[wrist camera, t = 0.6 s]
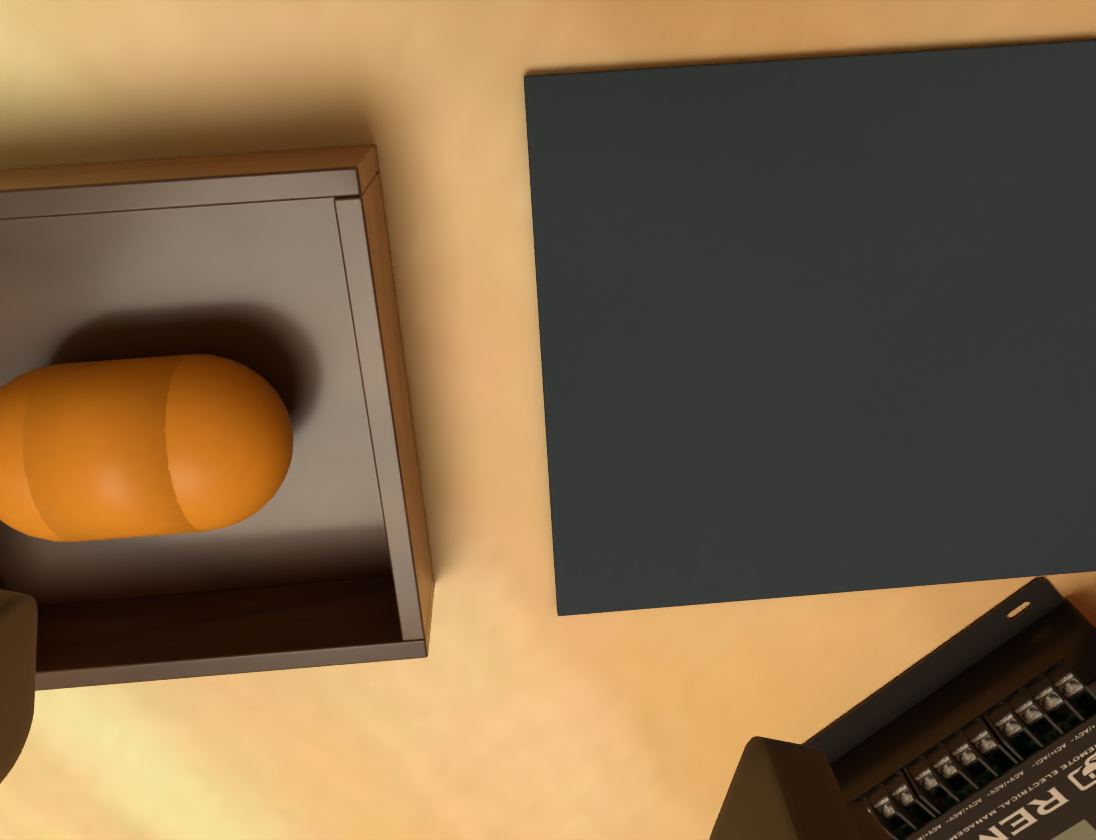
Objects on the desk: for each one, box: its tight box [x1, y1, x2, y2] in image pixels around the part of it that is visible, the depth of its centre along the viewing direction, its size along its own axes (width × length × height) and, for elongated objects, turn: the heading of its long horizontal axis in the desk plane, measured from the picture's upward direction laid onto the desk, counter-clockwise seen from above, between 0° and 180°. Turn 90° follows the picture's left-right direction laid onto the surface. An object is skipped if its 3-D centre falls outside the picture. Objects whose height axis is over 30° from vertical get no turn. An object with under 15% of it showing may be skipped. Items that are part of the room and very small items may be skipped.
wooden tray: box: [0, 144, 435, 691], centre depth 29 cm, size 17×17×4 cm
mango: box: [0, 354, 293, 542], centre depth 28 cm, size 6×10×6 cm, turn 93°
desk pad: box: [524, 40, 1096, 616], centre depth 31 cm, size 20×22×1 cm
